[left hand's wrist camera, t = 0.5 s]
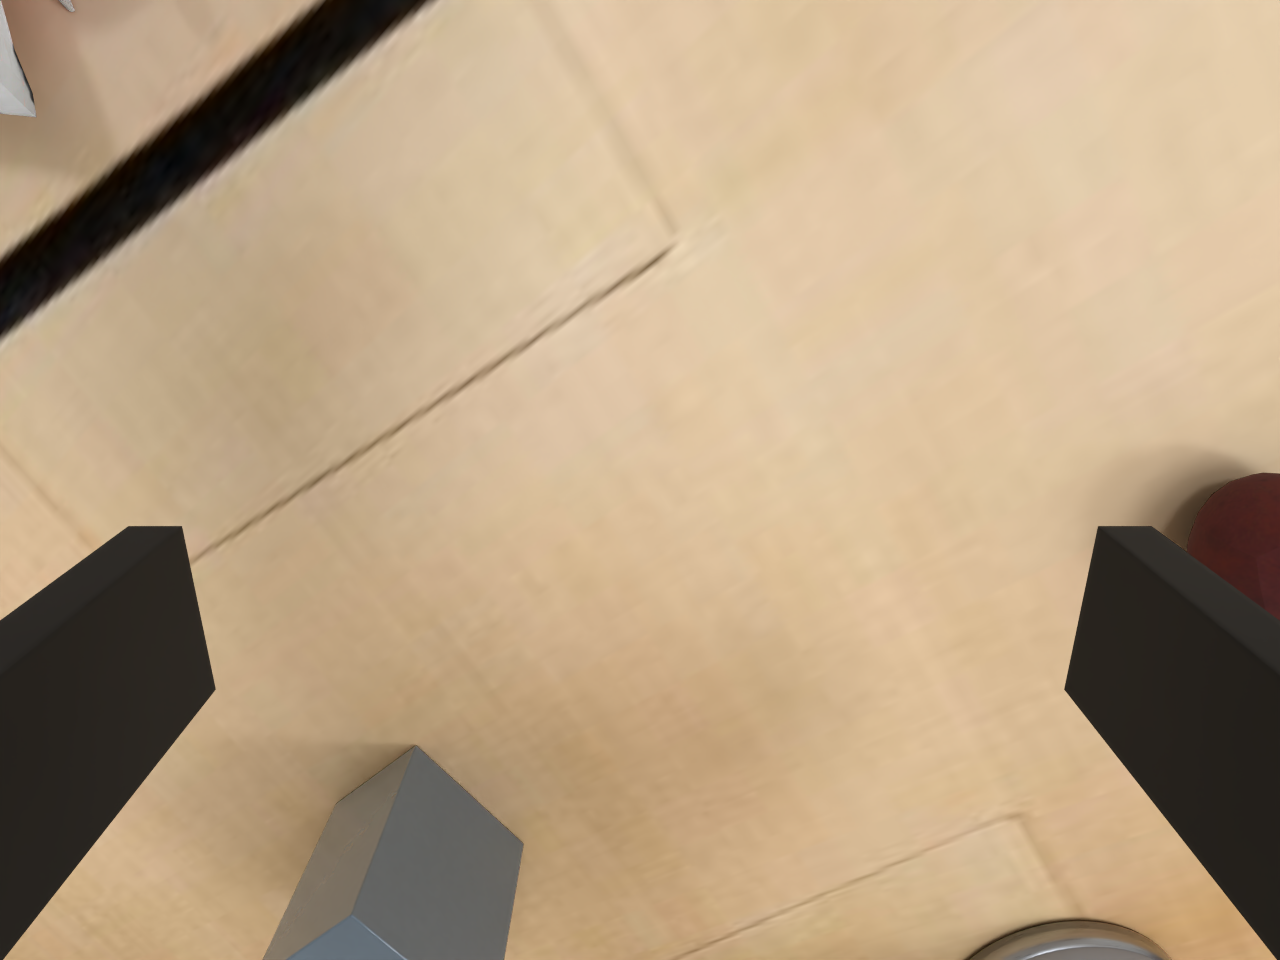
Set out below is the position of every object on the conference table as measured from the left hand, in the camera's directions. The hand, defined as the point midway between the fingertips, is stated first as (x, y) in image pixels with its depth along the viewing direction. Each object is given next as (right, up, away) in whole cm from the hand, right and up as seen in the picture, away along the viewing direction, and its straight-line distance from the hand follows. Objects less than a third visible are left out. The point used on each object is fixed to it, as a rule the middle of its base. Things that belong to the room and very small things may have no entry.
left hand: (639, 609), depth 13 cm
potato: (+29, 0, +30) cm, 41 cm away
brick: (-12, -17, +36) cm, 42 cm away
